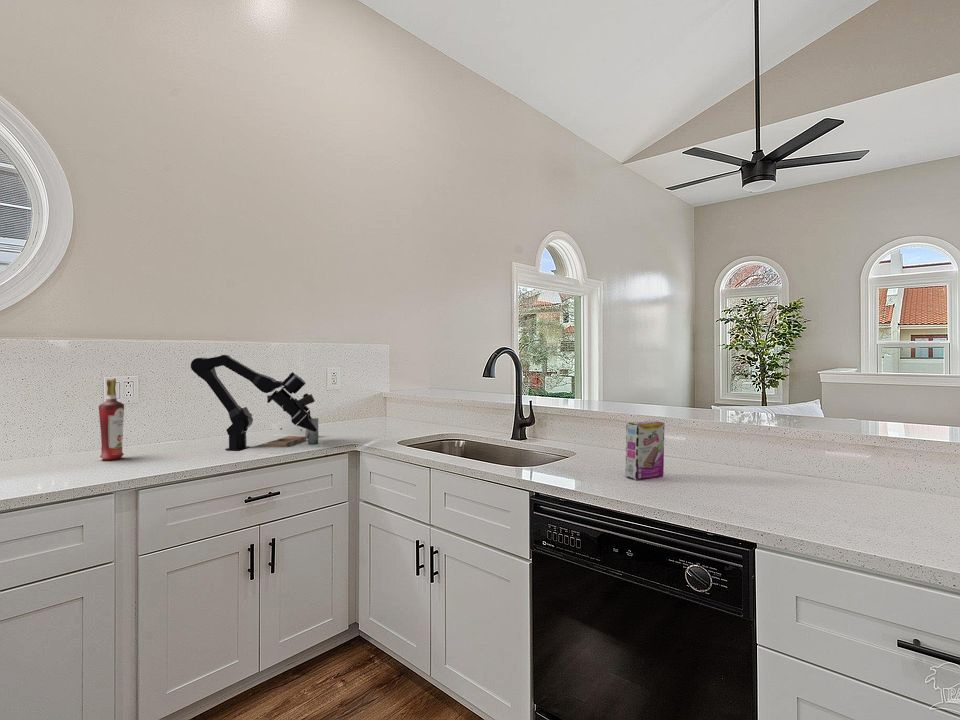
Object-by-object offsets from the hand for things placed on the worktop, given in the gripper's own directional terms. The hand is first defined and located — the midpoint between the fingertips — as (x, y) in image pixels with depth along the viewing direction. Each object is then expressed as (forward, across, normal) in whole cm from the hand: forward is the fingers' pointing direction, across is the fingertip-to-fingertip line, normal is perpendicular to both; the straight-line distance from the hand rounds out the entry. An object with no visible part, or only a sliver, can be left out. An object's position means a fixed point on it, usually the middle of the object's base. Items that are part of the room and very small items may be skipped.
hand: (316, 429), depth 209 cm
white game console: (-2, +21, +12) cm, 24 cm away
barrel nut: (+3, 0, +5) cm, 6 cm away
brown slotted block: (-3, +4, +13) cm, 14 cm away
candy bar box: (+73, -81, -63) cm, 126 cm away
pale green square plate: (+4, 0, +6) cm, 7 cm away
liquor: (-44, -7, +53) cm, 69 cm away
